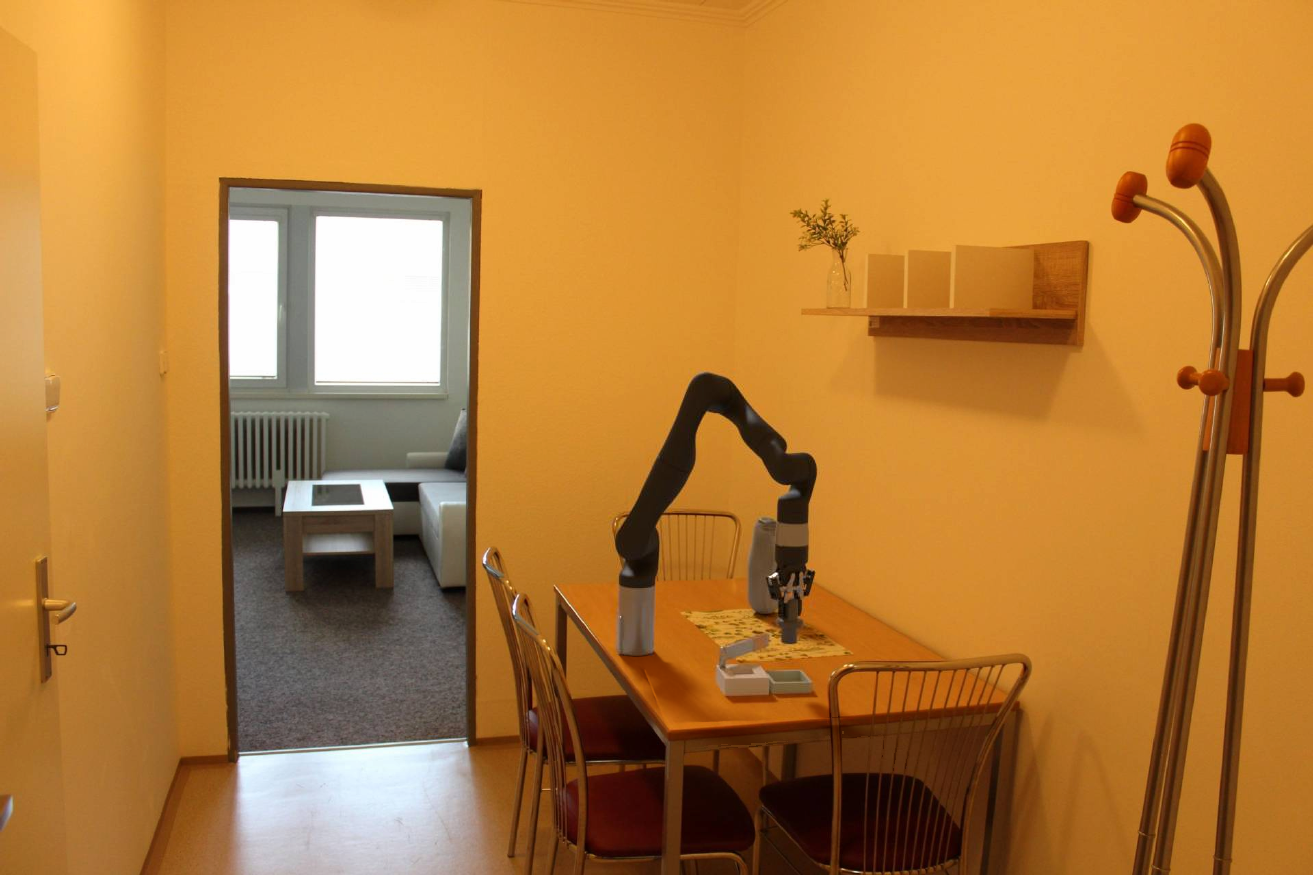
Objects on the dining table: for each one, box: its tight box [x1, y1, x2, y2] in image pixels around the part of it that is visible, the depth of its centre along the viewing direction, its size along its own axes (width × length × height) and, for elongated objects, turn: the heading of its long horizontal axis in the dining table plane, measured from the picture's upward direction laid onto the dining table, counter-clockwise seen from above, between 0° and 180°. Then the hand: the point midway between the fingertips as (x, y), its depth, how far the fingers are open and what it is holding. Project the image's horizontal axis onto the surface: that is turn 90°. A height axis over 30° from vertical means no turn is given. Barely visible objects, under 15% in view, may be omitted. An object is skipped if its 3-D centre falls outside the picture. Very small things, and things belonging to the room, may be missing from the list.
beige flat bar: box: [718, 632, 770, 668], centre depth 248 cm, size 18×2×5 cm, turn 138°
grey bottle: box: [746, 517, 778, 615], centre depth 310 cm, size 10×10×28 cm
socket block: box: [715, 663, 770, 697], centre depth 240 cm, size 10×10×4 cm
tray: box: [764, 669, 813, 695], centre depth 242 cm, size 9×9×2 cm
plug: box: [775, 596, 804, 645], centre depth 241 cm, size 6×6×10 cm
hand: (789, 616), depth 241 cm, fingers closed on plug, 3 cm apart
